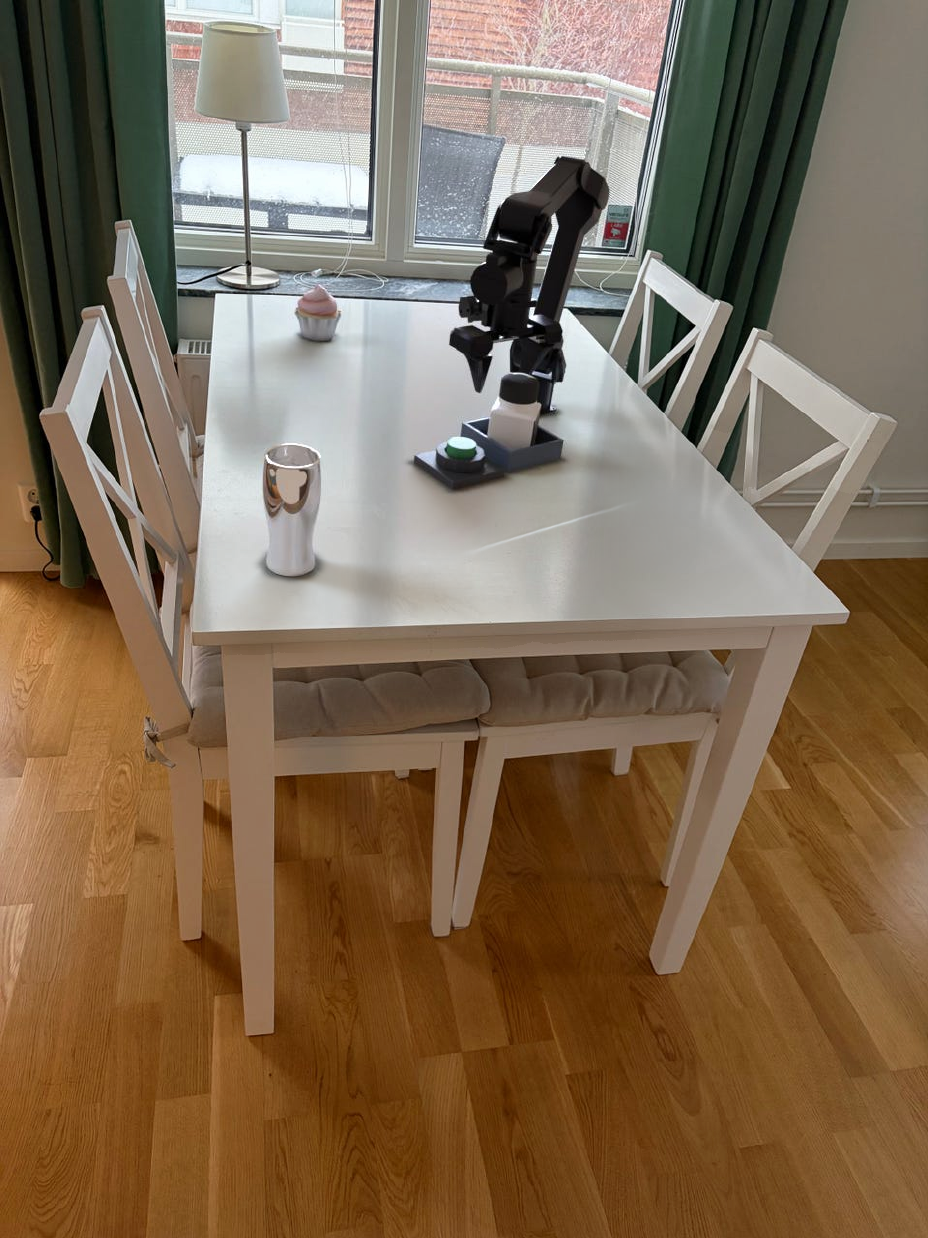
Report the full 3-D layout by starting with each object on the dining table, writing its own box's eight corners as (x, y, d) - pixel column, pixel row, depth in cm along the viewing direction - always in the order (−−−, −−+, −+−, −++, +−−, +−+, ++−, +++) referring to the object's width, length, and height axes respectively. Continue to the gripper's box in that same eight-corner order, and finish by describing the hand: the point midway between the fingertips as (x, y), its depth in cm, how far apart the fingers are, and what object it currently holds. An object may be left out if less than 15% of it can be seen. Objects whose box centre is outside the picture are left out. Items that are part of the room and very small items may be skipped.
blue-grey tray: (512, 430, 167) (515, 411, 166) (560, 459, 160) (563, 440, 158) (459, 441, 161) (462, 422, 159) (507, 473, 154) (510, 452, 152)
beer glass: (265, 548, 128) (264, 440, 119) (319, 551, 129) (323, 444, 120) (260, 577, 122) (259, 466, 114) (317, 580, 123) (321, 470, 115)
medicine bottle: (528, 461, 157) (540, 389, 150) (484, 452, 158) (494, 380, 151) (535, 443, 163) (546, 373, 156) (492, 435, 164) (502, 365, 157)
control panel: (464, 451, 159) (466, 432, 157) (504, 477, 152) (506, 458, 151) (413, 462, 153) (415, 443, 151) (452, 490, 147) (454, 470, 145)
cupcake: (300, 324, 199) (301, 274, 193) (346, 332, 198) (348, 281, 193) (287, 339, 191) (287, 287, 185) (334, 347, 190) (336, 294, 185)
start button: (463, 445, 154) (464, 434, 153) (480, 456, 151) (482, 445, 150) (440, 450, 151) (441, 439, 150) (457, 461, 149) (459, 451, 148)
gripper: (525, 268, 160) (511, 362, 168) (432, 278, 149) (423, 378, 158) (572, 289, 153) (556, 385, 162) (478, 301, 142) (466, 404, 151)
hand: (500, 387), depth 158 cm, fingers open, 9 cm apart
